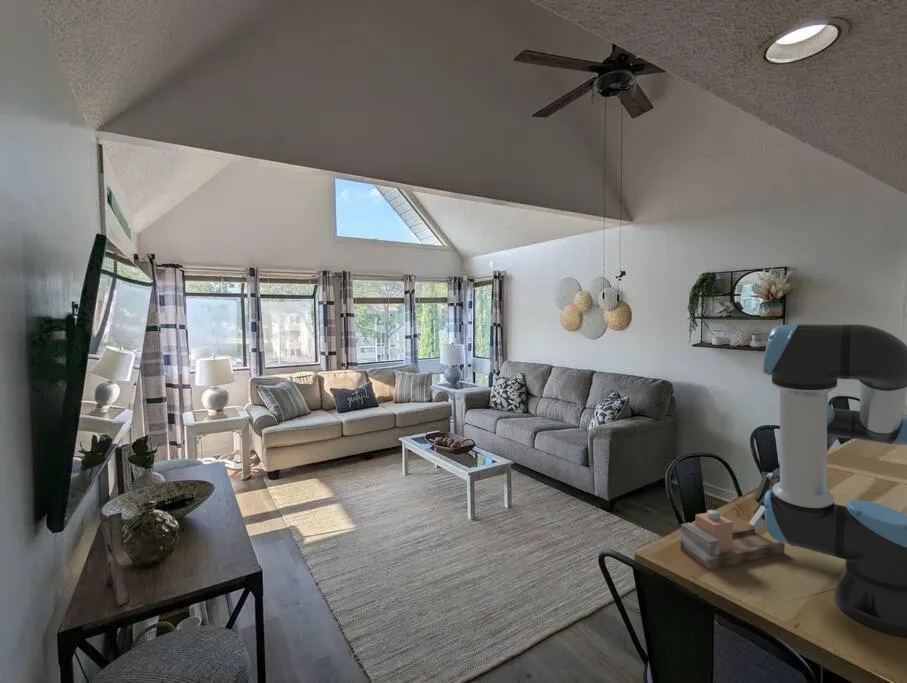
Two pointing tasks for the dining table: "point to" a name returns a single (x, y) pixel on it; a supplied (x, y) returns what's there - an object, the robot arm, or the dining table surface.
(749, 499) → the dining table surface
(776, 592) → the dining table surface
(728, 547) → the block
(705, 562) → the track
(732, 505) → the dining table surface
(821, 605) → the dining table surface
